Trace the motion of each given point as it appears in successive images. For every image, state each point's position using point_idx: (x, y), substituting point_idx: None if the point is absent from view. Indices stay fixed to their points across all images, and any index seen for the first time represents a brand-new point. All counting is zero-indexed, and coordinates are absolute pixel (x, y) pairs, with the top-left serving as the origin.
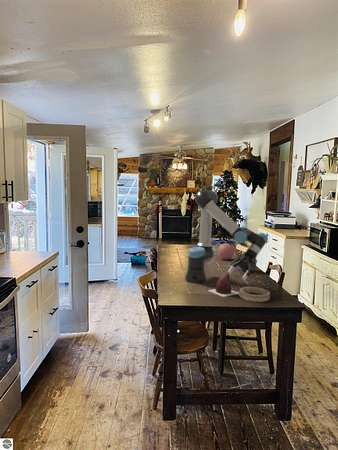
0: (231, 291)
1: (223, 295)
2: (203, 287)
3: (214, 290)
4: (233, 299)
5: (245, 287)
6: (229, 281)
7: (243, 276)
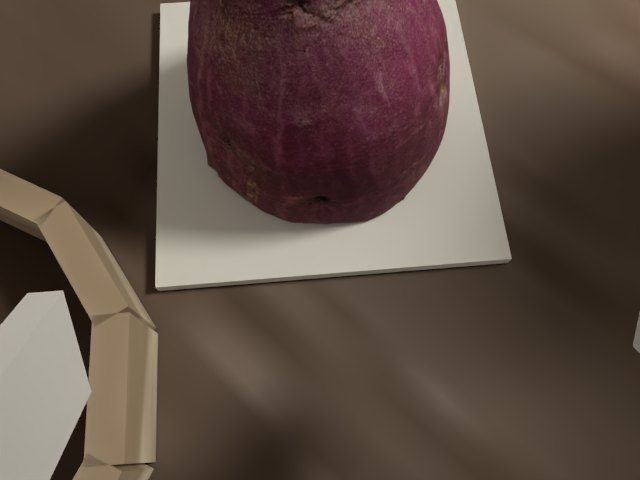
0: (271, 229)
1: (186, 24)
2: (615, 33)
3: None
4: (29, 62)
5: (103, 420)
6: (201, 23)
7: (29, 320)
